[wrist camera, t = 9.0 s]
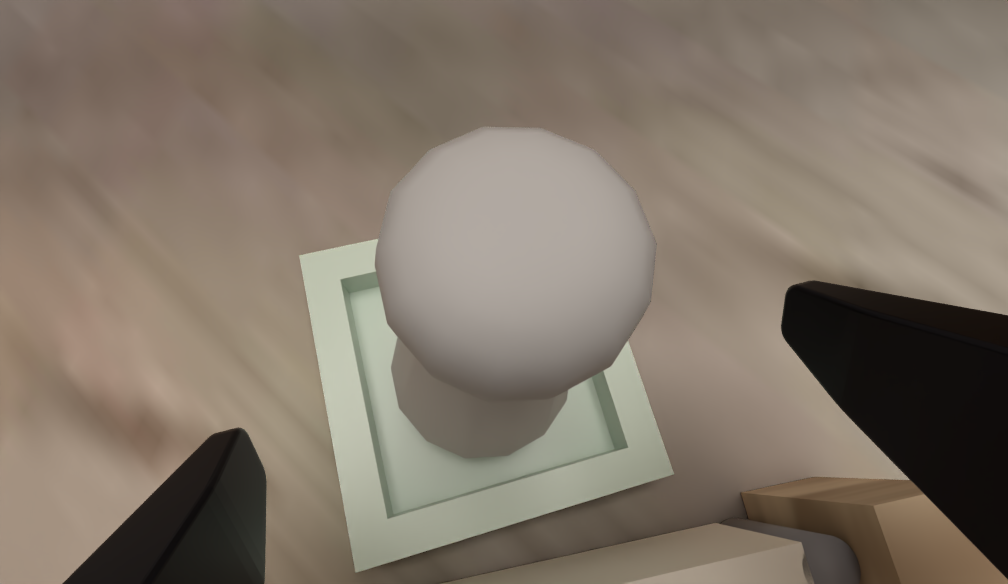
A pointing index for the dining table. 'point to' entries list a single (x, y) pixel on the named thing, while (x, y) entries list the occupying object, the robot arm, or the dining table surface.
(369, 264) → the tray
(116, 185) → the dining table surface
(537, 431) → the salt shaker
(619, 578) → the gate
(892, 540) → the gate post
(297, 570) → the dining table surface
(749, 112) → the dining table surface
